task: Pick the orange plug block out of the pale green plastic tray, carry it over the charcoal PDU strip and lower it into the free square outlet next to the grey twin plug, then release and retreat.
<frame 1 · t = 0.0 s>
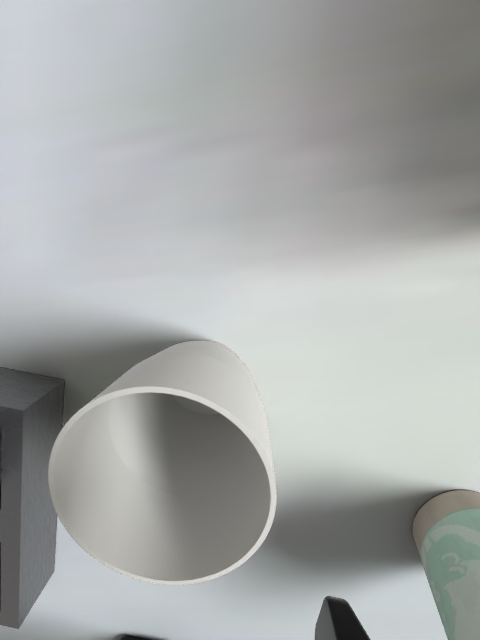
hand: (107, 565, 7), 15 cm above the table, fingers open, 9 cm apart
cup: (207, 377, 22), on the table
coffee cup: (455, 524, 24), on the table
pdu strip: (3, 472, 25), on the table
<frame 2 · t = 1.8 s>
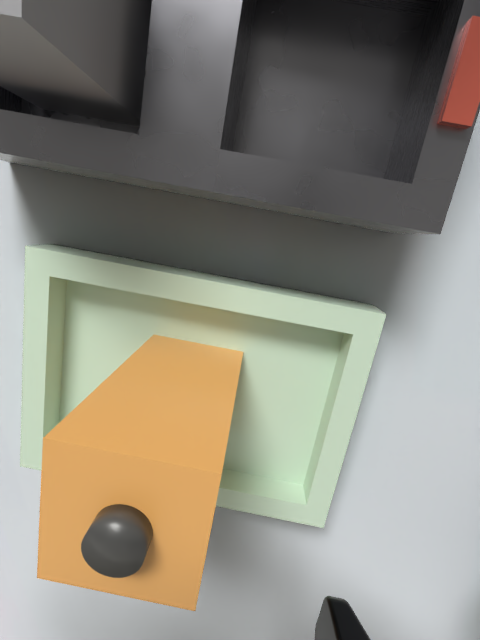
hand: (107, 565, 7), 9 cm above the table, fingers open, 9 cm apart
tray: (194, 379, 16), on the table
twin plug: (99, 56, 13), resting on pdu strip
plug: (191, 384, 16), resting on tray
pdu strip: (213, 87, 13), on the table
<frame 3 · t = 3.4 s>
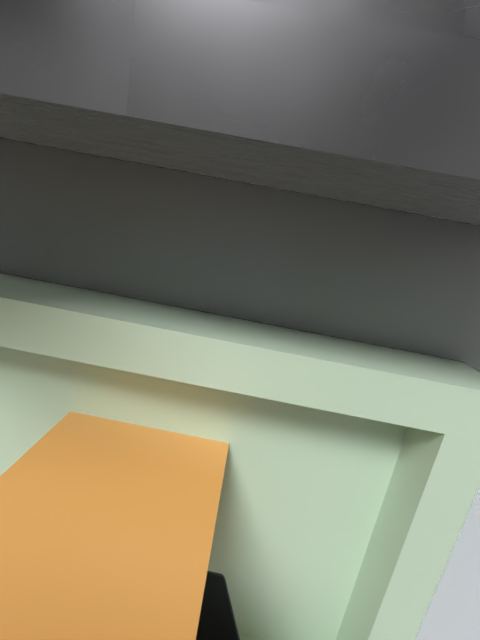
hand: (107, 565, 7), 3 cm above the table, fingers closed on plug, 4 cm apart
tray: (146, 481, 10), on the table
plug: (140, 494, 9), resting on tray, touching gripper
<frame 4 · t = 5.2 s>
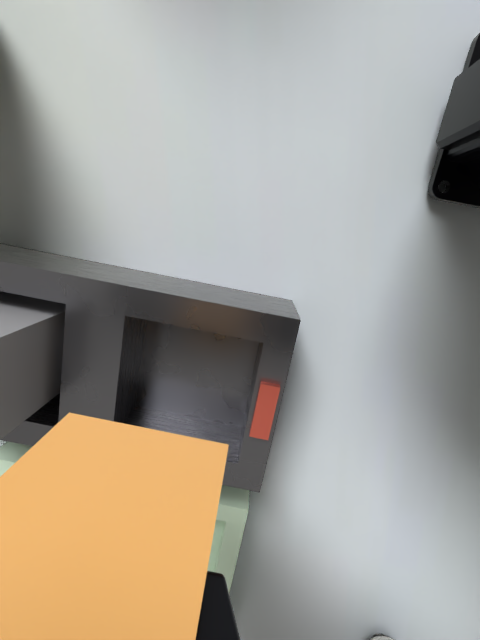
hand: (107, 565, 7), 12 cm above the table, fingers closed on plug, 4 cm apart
tray: (121, 531, 22), on the table
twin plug: (40, 335, 18), resting on pdu strip
light bulb: (377, 633, 23), on the table
plug: (140, 495, 9), point 10 cm above the table, touching gripper
pdu strip: (125, 344, 19), on the table
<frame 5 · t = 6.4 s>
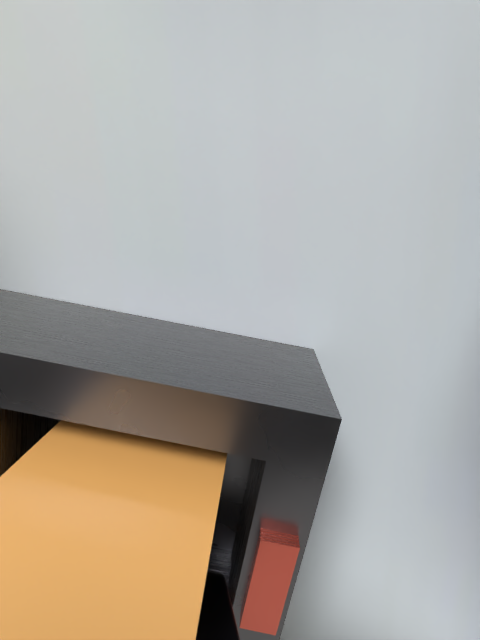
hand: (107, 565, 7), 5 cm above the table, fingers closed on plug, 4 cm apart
plug: (140, 495, 9), point 3 cm above the table, touching gripper
pdu strip: (46, 416, 12), on the table
when the fingers open (4 cm above the table, at t = 6.9 s): plug drops 2 cm, resting on pdu strip.
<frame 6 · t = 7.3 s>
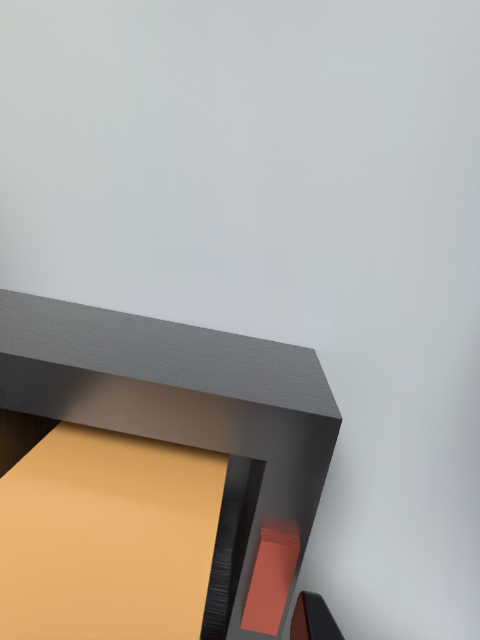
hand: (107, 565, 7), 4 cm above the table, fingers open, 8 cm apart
plug: (158, 459, 11), point 1 cm above the table, touching pdu strip
pdu strip: (47, 416, 12), on the table
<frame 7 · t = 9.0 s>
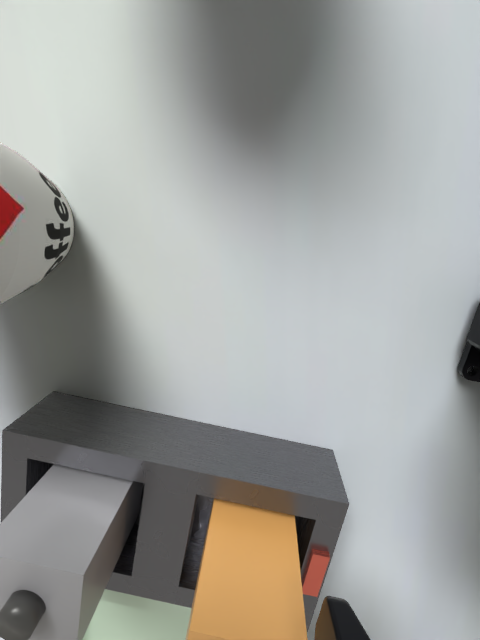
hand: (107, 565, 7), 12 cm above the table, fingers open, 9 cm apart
cup: (27, 222, 18), on the table
tray: (170, 631, 24), on the table
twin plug: (108, 477, 20), resting on pdu strip
plug: (248, 507, 20), point 1 cm above the table, touching pdu strip
pdu strip: (181, 480, 21), on the table
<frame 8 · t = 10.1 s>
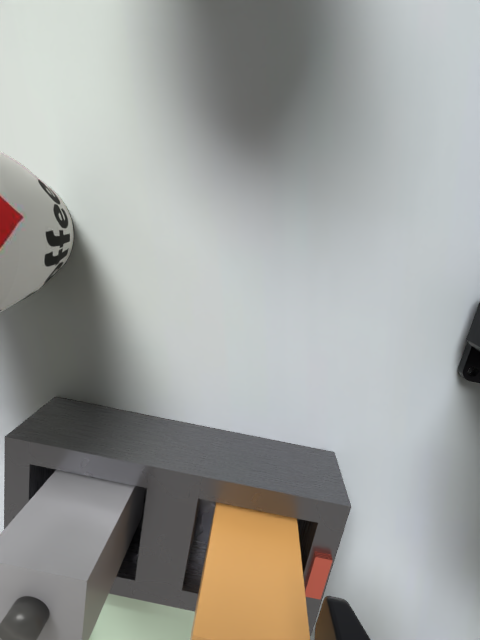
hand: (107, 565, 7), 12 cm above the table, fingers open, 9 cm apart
cup: (26, 228, 18), on the table
tray: (174, 634, 24), on the table
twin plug: (110, 481, 20), resting on pdu strip
plug: (250, 510, 20), point 1 cm above the table, touching pdu strip
pdu strip: (183, 483, 21), on the table
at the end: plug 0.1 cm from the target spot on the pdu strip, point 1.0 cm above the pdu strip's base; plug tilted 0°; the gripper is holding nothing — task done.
